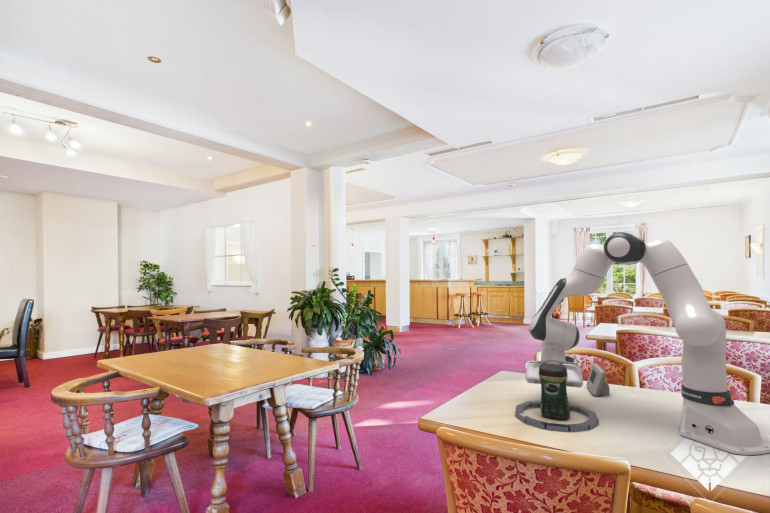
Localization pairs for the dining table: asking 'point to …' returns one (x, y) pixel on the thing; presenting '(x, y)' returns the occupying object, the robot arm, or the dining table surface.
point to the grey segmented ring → (583, 426)
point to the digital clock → (598, 381)
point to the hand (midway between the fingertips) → (553, 394)
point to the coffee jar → (554, 391)
